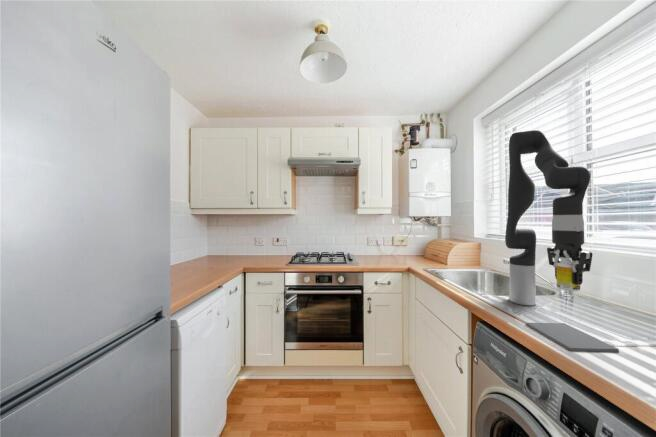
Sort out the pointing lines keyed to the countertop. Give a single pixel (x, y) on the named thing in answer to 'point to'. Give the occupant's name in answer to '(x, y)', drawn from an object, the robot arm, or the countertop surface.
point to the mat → (571, 337)
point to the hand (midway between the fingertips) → (568, 281)
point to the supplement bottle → (565, 276)
